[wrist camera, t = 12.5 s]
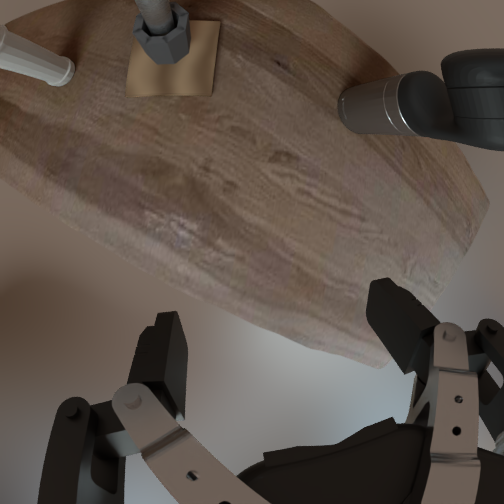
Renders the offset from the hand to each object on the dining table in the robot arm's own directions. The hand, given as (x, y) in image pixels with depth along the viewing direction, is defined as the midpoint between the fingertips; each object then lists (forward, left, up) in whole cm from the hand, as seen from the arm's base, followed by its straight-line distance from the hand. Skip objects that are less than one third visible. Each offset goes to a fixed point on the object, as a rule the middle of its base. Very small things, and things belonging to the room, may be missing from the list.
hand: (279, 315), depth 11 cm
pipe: (+26, -26, -37) cm, 52 cm away
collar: (+6, -23, -31) cm, 39 cm away
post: (+6, -23, -37) cm, 44 cm away
